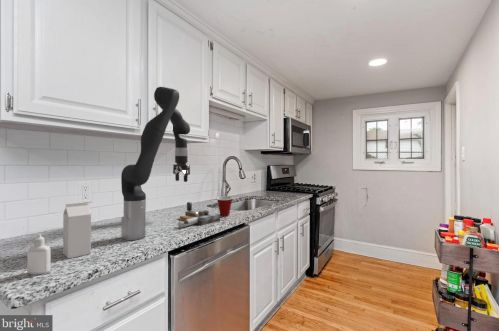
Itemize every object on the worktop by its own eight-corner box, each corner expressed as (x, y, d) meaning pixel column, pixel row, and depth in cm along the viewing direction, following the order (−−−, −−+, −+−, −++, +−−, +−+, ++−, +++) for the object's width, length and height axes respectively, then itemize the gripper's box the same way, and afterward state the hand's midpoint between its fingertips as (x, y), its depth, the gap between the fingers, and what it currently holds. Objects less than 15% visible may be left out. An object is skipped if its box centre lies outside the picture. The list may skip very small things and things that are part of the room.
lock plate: (202, 225, 139) (202, 214, 139) (178, 219, 152) (178, 209, 152) (220, 221, 150) (220, 210, 150) (196, 215, 163) (197, 206, 163)
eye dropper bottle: (36, 277, 75) (36, 237, 75) (25, 273, 78) (25, 234, 77) (52, 271, 79) (52, 233, 79) (41, 268, 82) (42, 231, 81)
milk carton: (90, 253, 95) (91, 203, 94) (68, 259, 89) (68, 205, 89) (85, 249, 99) (85, 201, 99) (62, 254, 94) (63, 203, 94)
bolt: (195, 216, 151) (195, 204, 151) (185, 214, 157) (185, 202, 157) (199, 215, 153) (199, 203, 153) (189, 213, 159) (189, 201, 159)
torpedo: (182, 229, 130) (182, 216, 130) (175, 227, 133) (175, 215, 133) (205, 222, 146) (205, 211, 145) (199, 221, 148) (199, 210, 148)
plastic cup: (212, 216, 163) (213, 197, 163) (221, 213, 173) (221, 195, 173) (227, 217, 159) (228, 198, 159) (235, 214, 169) (235, 196, 169)
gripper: (169, 155, 159) (169, 180, 160) (183, 155, 150) (183, 182, 151) (179, 155, 165) (179, 180, 165) (193, 155, 156) (193, 181, 156)
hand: (181, 181), depth 158 cm, fingers open, 8 cm apart
